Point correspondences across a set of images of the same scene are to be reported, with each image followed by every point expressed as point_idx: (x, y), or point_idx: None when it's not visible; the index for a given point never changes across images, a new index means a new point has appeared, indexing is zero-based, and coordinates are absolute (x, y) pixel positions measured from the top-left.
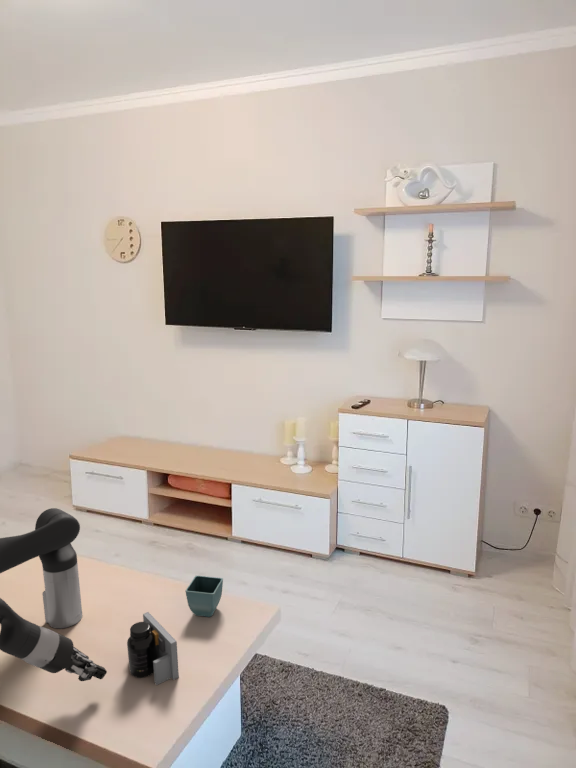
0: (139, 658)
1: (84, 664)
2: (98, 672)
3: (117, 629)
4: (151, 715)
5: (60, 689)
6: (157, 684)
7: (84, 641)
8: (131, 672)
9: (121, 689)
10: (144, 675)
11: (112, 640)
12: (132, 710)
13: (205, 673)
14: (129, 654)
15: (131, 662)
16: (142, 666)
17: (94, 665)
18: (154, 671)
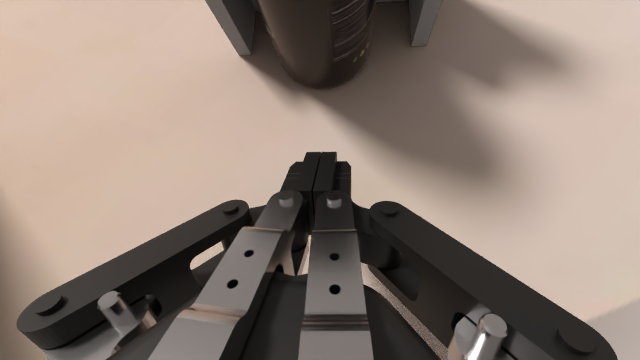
0: (366, 6)
1: (382, 296)
2: (350, 192)
3: (89, 49)
4: (562, 108)
5: None
6: (425, 41)
7: (56, 150)
8: (328, 82)
9: (367, 140)
10: (368, 55)
11: (123, 79)
12: (496, 149)
13: None
14: (316, 27)
15: (331, 51)
16: (369, 30)
17: (341, 201)
18: (429, 6)
